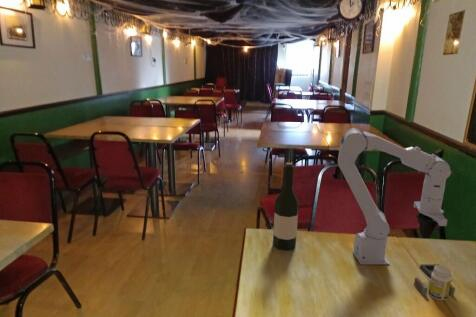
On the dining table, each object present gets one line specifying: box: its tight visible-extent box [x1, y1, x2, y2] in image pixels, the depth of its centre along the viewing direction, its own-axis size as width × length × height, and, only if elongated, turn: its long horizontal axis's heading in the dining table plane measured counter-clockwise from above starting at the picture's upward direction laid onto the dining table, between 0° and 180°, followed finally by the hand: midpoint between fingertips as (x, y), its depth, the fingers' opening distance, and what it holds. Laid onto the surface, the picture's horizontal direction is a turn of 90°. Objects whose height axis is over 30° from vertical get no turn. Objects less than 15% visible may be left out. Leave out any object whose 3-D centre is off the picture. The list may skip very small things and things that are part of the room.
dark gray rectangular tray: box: [419, 263, 452, 280], centre depth 106 cm, size 6×6×1 cm
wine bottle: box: [272, 162, 300, 252], centre depth 118 cm, size 8×8×30 cm
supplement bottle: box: [428, 264, 452, 301], centre depth 94 cm, size 5×5×8 cm
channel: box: [413, 277, 456, 297], centre depth 97 cm, size 9×5×2 cm, turn 92°
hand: (425, 237), depth 108 cm, fingers closed
